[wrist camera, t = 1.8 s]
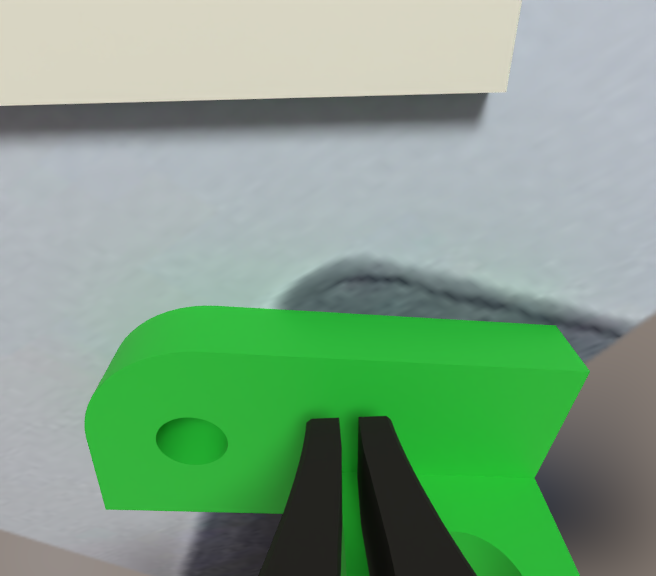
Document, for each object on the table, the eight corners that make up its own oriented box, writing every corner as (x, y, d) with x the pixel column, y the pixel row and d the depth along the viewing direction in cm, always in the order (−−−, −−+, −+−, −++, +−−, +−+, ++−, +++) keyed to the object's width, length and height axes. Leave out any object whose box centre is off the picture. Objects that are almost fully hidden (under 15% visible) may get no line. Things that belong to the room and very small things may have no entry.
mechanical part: (552, 321, 13) (834, 698, 6) (491, 463, 16) (627, 815, 9) (97, 294, 12) (-199, 705, 5) (129, 450, 15) (-24, 831, 8)
